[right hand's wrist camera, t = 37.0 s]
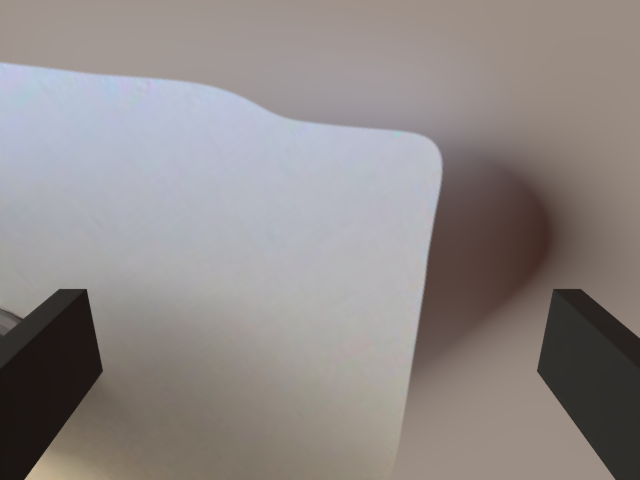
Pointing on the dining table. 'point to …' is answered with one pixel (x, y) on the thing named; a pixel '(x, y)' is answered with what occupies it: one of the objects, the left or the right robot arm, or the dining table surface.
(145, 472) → the dining table surface
